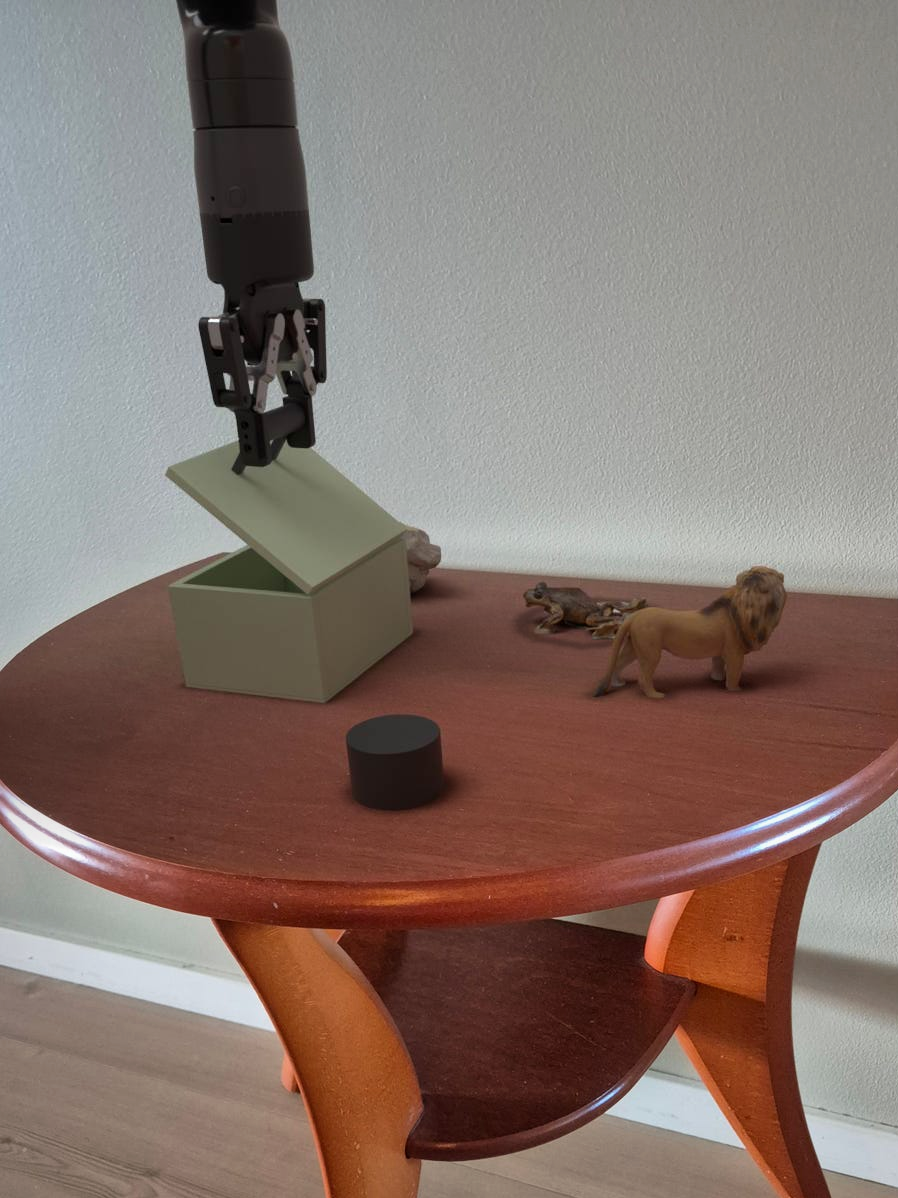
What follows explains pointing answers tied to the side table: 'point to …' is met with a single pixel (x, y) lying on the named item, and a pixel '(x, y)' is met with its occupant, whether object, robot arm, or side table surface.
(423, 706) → the side table surface
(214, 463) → the lid
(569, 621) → the frog figurine
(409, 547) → the fossil replica
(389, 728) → the dark solid cylinder
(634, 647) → the lion figurine
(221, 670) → the chest
